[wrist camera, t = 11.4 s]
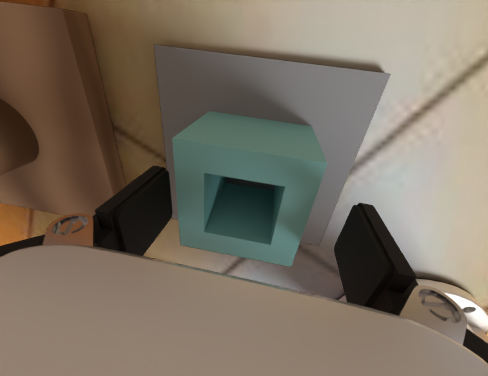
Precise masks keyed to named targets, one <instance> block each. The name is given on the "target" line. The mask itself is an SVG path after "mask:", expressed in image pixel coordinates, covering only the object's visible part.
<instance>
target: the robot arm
mask: <svg viewBox="0 0 488 376" xmlns="http://www.w3.org/2000/svg"><path fill="white" fill-rule="evenodd" d="M95 213H96V214H95V215H94V216H92V217H91V216H90V215H88V214H85V213H76V214H70V215H66V216H64V217H61V218H59V219H57V220H55V221H54V222H52V223H51V224H50V225H49V226H48V228H47V230H46V233H45V235H41V236H37V237H33V238H29V239H25V240H22V241H18V242H14V243H10V244H6V245H2V246H0V376H488V337H487V336H486V333H487V332H488V314H487V313H486V312H485V310H484V309H483V308H482V306H481V305H480V304H479V302H478V301H477V300H476V299H475V298H474V297H473V296H472V295H470V294H469V293H467V292H466V291H464V290H462V289H460V288H458V287H455V286H452V285H449V284H446V283H443V282H437V281H432V280H425V279H416V275H415V273H414V272H413V270H412V268H411V267H410V265H409V264H408V262H407V260H406V259H405V257H404V255H403V254H402V252H401V250H400V249H399V247H398V245H397V244H396V242H395V241H394V239H393V237H392V236H391V234H390V232H389V231H388V229H387V227H386V226H385V224H384V222H383V221H382V219H381V218H380V216H379V214H378V213H377V211H376V209H375V208H374V206H373V205H368V204H363V203H358V204H357V205H354V206H353V207H352V209H351V211H350V214H349V216H348V218H347V220H346V222H345V224H344V227H343V229H342V231H341V233H340V235H339V237H338V240H337V242H336V244H335V247H334V252H335V256H336V260H337V264H338V268H339V272H340V276H341V280H342V284H343V288H344V292H345V295H344V296H343V297H342V298H340V299H339V300H336V299H332V298H327V297H323V296H319V295H314V294H310V293H306V292H301V291H297V290H293V289H288V288H284V287H280V286H275V285H271V284H267V283H262V282H258V281H253V280H249V279H244V278H240V277H236V276H231V275H227V274H222V273H218V272H213V271H209V270H204V269H200V268H195V267H191V266H186V265H182V264H177V263H172V262H168V261H163V260H159V259H154V258H150V257H145V256H143V255H144V253H145V252H146V251H147V249H148V248H149V247H150V245H151V244H152V243H153V241H154V240H155V239H156V237H157V236H158V235H159V233H160V232H161V231H162V229H163V228H164V227H165V225H166V224H167V223H168V222H169V220H170V219H171V217H172V213H173V211H172V199H171V188H170V176H169V172H168V171H166V168H164V167H158V166H152V167H151V168H150V169H148V170H147V171H146V172H144V173H143V174H142V175H140V176H139V177H138V178H136V179H135V180H134V181H132V182H131V183H130V184H128V185H127V186H126V187H124V188H123V189H122V190H120V191H119V192H118V193H116V194H115V195H114V196H113V197H111V198H110V199H109V200H107V201H106V202H105V203H103V204H102V205H101V206H99V207H98V208H97V209H95Z"/></svg>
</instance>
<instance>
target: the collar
mask: <svg viewBox="0 0 488 376" xmlns="http://www.w3.org/2000/svg"><path fill="white" fill-rule="evenodd" d="M172 143H173V156H174V169H175V182H176V194H177V207H178V220H179V233H180V245H182V246H187V247H193V248H198V249H203V250H208V251H213V252H218V253H223V254H228V255H233V256H238V257H243V258H248V259H253V260H259V261H264V262H269V263H274V264H279V265H284V266H289V267H291V266H292V263H293V260H294V258H295V255H296V252H297V249H298V246H299V243H300V240H301V238H302V235H303V232H304V229H305V226H306V223H307V221H308V218H309V215H310V212H311V209H312V206H313V203H314V201H315V198H316V195H317V192H318V189H319V186H320V184H321V181H322V178H323V175H324V172H325V169H326V166H327V164H328V163H327V160H326V158H325V156H324V153H323V151H322V149H321V146H320V144H319V142H318V139H317V137H316V135H315V132H314V130H313V128H312V126H307V125H300V124H294V123H287V122H280V121H273V120H267V119H260V118H253V117H246V116H240V115H233V114H226V113H219V112H213V111H209V112H207V113H206V114H204V115H203V116H202V117H200V118H199V119H198V120H196V121H195V122H194V123H192V124H191V125H189V126H188V127H187V128H185V129H184V130H183V131H181V132H180V133H179V134H177V135H176V136H175V137H173V138H172ZM226 177H231V178H237V179H243V180H248V181H254V182H260V183H266V184H272V185H275V189H274V191H271V190H265V189H259V188H253V187H248V186H242V185H236V184H230V183H226Z"/></svg>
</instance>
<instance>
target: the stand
mask: <svg viewBox="0 0 488 376" xmlns="http://www.w3.org/2000/svg"><path fill="white" fill-rule="evenodd" d="M124 187H126V184H125V180H124V175H123V171H122V166H121V162H120V158H119V153H118V149H117V145H116V140H115V136H114V132H113V127H112V123H111V119H110V114H109V110H108V106H107V101H106V97H105V93H104V88H103V84H102V80H101V75H100V71H99V66H98V62H97V58H96V53H95V49H94V45H93V40H92V36H91V32H90V27H89V23H88V19H87V14H84V13H80V12H75V11H71V10H66V9H61V8H52V7H44V6H35V5H26V4H17V3H9V2H0V203H3V204H8V205H13V206H19V207H24V208H29V209H34V210H39V211H45V212H50V213H55V214H60V215H65V216H66V215H70V214H76V213H85V214H88V215H90V216H91V217H92V216H94V215H95V214H96V213H95V209H97V208H98V207H99V206H101V205H102V204H103V203H105V202H106V201H107V200H109V199H110V198H111V197H113V196H114V195H115V194H116V193H118V192H119V191H120V190H122V189H123V188H124Z"/></svg>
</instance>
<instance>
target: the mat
mask: <svg viewBox="0 0 488 376" xmlns="http://www.w3.org/2000/svg"><path fill="white" fill-rule="evenodd" d="M154 49H155V59H156V69H157V79H158V88H159V98H160V108H161V117H162V127H163V137H164V147H165V156H166V166H167V171H168V172H169V176H170V188H171V199H172V211H173V213H172V219H176V220H178V207H177V194H176V182H175V169H174V156H173V143H172V138H173V137H175V136H176V135H177V134H179V133H180V132H181V131H183V130H184V129H185V128H187V127H188V126H189V125H191V124H192V123H194V122H195V121H196V120H198V119H199V118H200V117H202V116H203V115H204V114H206V113H207V112H209V111H213V112H219V113H226V114H233V115H240V116H246V117H253V118H260V119H267V120H273V121H280V122H287V123H294V124H300V125H307V126H312V128H313V130H314V132H315V135H316V137H317V139H318V142H319V144H320V146H321V149H322V151H323V153H324V156H325V158H326V160H327V163H328V164H327V166H326V169H325V172H324V175H323V178H322V181H321V184H320V186H319V189H318V192H317V195H316V198H315V201H314V203H313V206H312V209H311V212H310V215H309V218H308V221H307V223H306V226H305V229H304V232H303V235H302V238H301V240H300V243H305V244H310V245H315V246H319V244H320V241H321V239H322V237H323V234H324V232H325V229H326V227H327V225H328V222H329V220H330V217H331V215H332V213H333V210H334V208H335V206H336V203H337V201H338V198H339V196H340V194H341V191H342V189H343V186H344V184H345V182H346V179H347V177H348V174H349V172H350V170H351V167H352V165H353V163H354V160H355V158H356V155H357V153H358V151H359V148H360V146H361V143H362V141H363V139H364V136H365V134H366V132H367V129H368V127H369V124H370V122H371V120H372V117H373V115H374V112H375V110H376V108H377V105H378V103H379V101H380V98H381V96H382V93H383V91H384V89H385V86H386V84H387V81H388V79H389V77H390V74H388V73H381V72H373V71H364V70H356V69H348V68H340V67H332V66H324V65H316V64H308V63H300V62H292V61H284V60H276V59H268V58H259V57H251V56H243V55H235V54H227V53H219V52H211V51H203V50H195V49H187V48H179V47H171V46H162V45H154ZM226 183H230V184H236V185H242V186H248V187H253V188H259V189H265V190H271V191H274V189H275V185H272V184H266V183H260V182H254V181H248V180H243V179H237V178H231V177H226Z"/></svg>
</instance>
